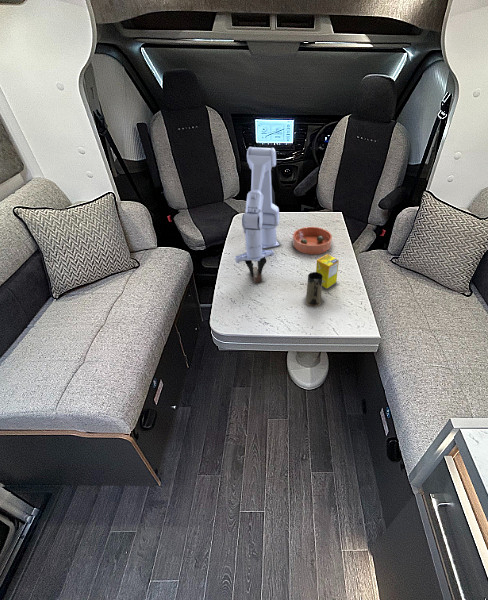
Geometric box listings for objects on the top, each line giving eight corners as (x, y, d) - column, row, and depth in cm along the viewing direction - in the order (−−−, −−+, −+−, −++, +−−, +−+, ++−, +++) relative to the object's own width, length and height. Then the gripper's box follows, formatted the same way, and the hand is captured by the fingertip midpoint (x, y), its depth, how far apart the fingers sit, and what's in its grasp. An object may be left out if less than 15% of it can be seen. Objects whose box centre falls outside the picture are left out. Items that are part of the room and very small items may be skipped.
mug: (305, 296, 125) (307, 268, 117) (320, 296, 125) (322, 269, 117) (306, 310, 119) (308, 282, 111) (322, 310, 119) (324, 282, 111)
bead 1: (299, 244, 153) (299, 238, 151) (305, 243, 154) (305, 237, 152) (301, 247, 151) (302, 241, 149) (308, 246, 152) (308, 240, 150)
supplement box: (324, 277, 134) (326, 253, 127) (336, 284, 131) (339, 259, 124) (314, 283, 131) (316, 259, 124) (326, 290, 128) (328, 266, 121)
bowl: (287, 239, 158) (287, 230, 155) (321, 233, 162) (321, 224, 160) (301, 257, 145) (301, 248, 142) (337, 250, 150) (338, 241, 147)
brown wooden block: (250, 273, 136) (250, 267, 134) (256, 272, 136) (256, 266, 135) (255, 283, 131) (255, 277, 129) (261, 281, 131) (261, 276, 130)
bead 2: (315, 241, 155) (316, 235, 153) (321, 240, 156) (322, 234, 154) (318, 244, 153) (318, 238, 151) (324, 243, 154) (324, 237, 152)
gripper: (237, 252, 119) (240, 284, 128) (276, 245, 123) (276, 276, 132) (232, 243, 124) (235, 273, 133) (270, 236, 128) (270, 266, 137)
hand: (255, 274), depth 133 cm, fingers closed on brown wooden block, 2 cm apart
